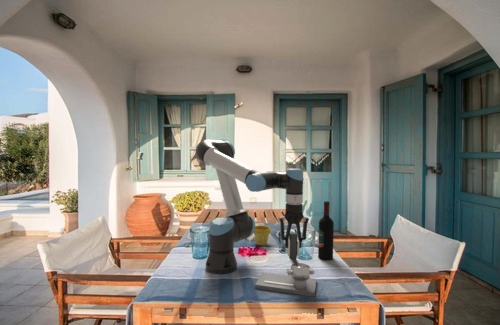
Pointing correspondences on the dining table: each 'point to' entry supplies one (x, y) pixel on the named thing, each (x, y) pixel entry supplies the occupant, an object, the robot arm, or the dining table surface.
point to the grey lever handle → (297, 269)
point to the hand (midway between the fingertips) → (293, 254)
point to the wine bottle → (326, 235)
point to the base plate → (286, 284)
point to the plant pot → (261, 234)
